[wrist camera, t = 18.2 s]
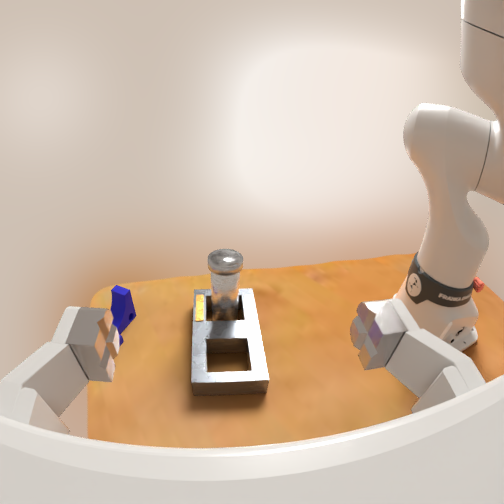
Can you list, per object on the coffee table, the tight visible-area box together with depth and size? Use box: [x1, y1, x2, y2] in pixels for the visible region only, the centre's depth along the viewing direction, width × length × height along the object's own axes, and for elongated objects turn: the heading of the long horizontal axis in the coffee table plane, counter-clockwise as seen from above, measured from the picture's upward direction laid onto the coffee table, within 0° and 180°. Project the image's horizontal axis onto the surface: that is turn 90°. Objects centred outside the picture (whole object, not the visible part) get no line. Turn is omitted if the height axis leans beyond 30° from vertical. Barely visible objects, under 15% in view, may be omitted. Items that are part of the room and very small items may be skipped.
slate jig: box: [191, 289, 269, 396], centre depth 45 cm, size 10×19×4 cm, turn 6°
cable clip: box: [111, 285, 136, 347], centre depth 43 cm, size 12×4×6 cm, turn 161°
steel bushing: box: [208, 249, 243, 321], centre depth 46 cm, size 5×5×13 cm
